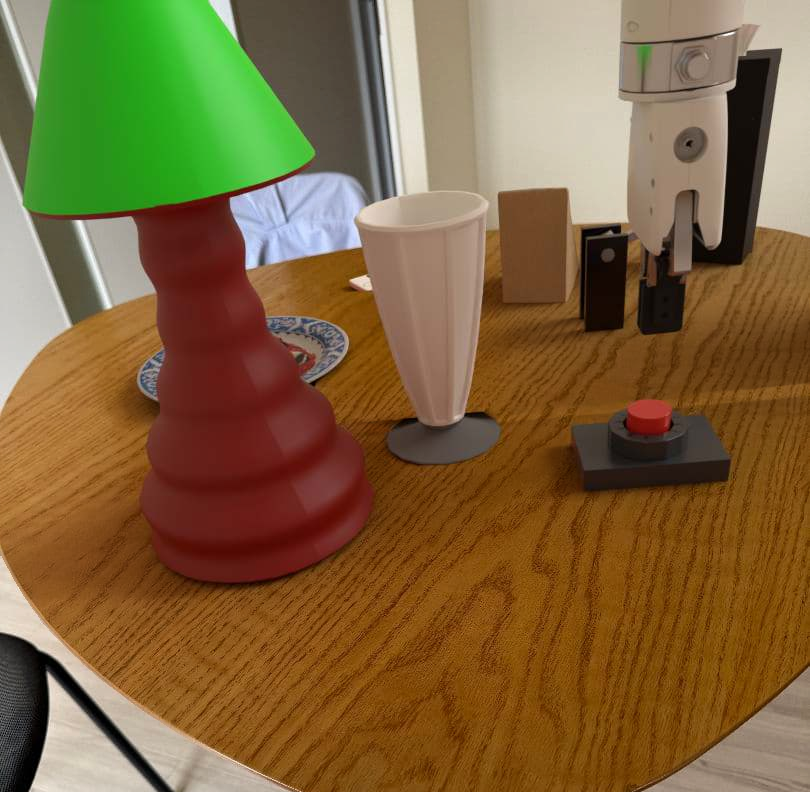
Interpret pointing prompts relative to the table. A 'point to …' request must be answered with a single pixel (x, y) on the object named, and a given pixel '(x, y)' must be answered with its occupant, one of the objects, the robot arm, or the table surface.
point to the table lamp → (197, 279)
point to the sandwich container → (536, 245)
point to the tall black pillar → (744, 150)
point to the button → (648, 417)
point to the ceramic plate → (303, 336)
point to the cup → (431, 316)
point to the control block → (648, 454)
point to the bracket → (602, 277)
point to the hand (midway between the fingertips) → (658, 329)
